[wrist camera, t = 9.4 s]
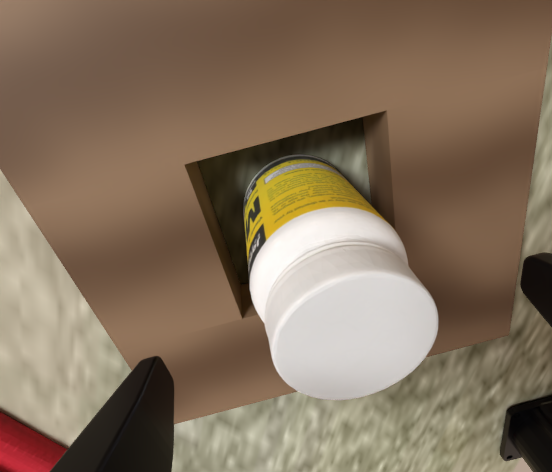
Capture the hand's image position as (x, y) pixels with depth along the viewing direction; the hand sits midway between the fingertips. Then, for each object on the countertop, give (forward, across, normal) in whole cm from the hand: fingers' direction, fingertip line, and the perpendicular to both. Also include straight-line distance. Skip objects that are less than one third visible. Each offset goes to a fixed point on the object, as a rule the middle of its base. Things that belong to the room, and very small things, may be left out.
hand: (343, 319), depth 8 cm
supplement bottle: (+8, 0, 0) cm, 8 cm away
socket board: (+8, 0, 0) cm, 8 cm away
